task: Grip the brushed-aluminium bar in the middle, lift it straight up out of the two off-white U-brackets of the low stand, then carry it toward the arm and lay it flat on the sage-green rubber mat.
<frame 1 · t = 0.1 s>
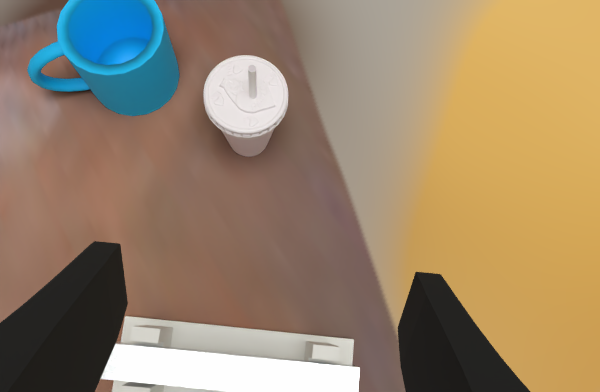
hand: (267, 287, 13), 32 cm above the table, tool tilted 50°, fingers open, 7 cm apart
mug: (115, 81, 48), on the table
rail: (234, 370, 38), point 4 cm above the table, touching rack
smoothie: (248, 138, 47), on the table
rack: (236, 364, 42), on the table
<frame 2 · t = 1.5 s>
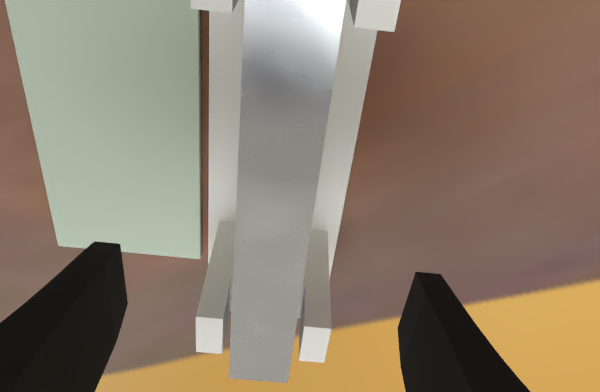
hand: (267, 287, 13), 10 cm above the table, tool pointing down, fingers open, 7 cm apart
mat: (114, 89, 21), on the table
rail: (279, 164, 17), point 4 cm above the table, touching rack
rack: (285, 108, 21), on the table
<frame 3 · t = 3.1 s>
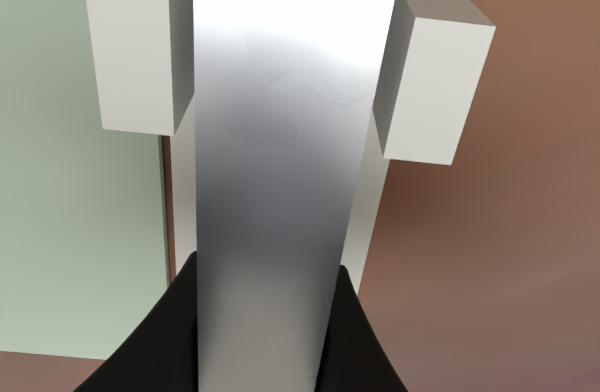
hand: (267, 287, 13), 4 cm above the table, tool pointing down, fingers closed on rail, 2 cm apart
mat: (49, 171, 16), on the table
rail: (265, 301, 12), point 4 cm above the table, touching gripper, rack
rack: (276, 194, 16), on the table
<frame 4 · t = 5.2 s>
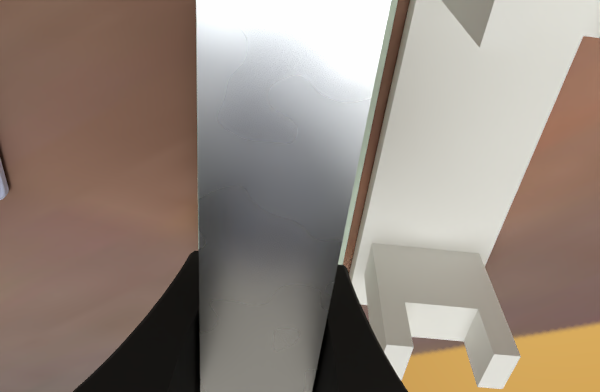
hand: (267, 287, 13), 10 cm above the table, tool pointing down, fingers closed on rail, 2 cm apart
mat: (285, 113, 21), on the table
rail: (265, 296, 12), point 10 cm above the table, touching gripper
rack: (454, 131, 21), on the table
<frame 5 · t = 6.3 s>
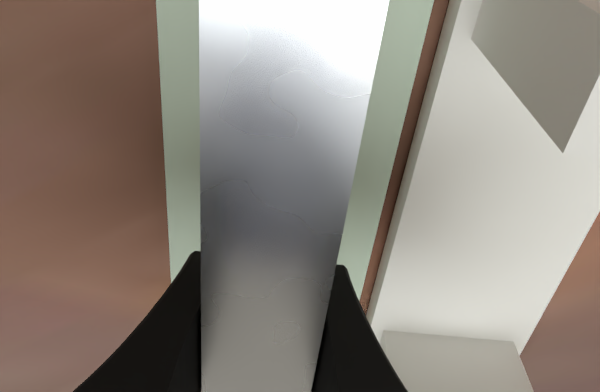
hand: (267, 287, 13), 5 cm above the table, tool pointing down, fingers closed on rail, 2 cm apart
mat: (276, 181, 16), on the table
rail: (266, 292, 13), point 5 cm above the table, touching gripper
rack: (487, 202, 17), on the table
when the fingers open (1 cm above the table, at t = 7.4 s): rail stays where it is, resting on mat.
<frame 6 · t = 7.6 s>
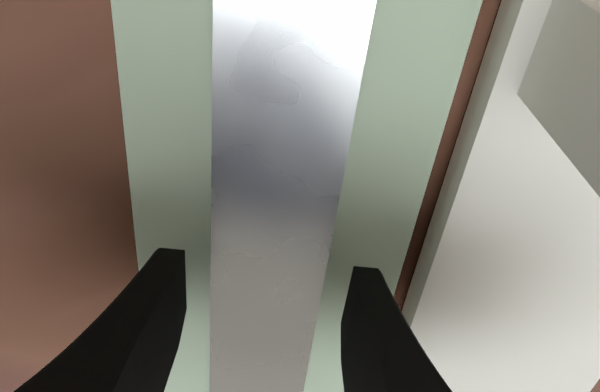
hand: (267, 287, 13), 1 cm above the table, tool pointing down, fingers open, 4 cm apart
mat: (270, 250, 14), on the table
rail: (269, 261, 13), resting on mat
rack: (523, 274, 14), on the table
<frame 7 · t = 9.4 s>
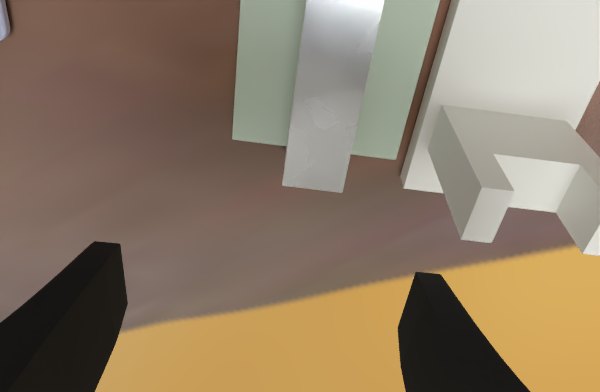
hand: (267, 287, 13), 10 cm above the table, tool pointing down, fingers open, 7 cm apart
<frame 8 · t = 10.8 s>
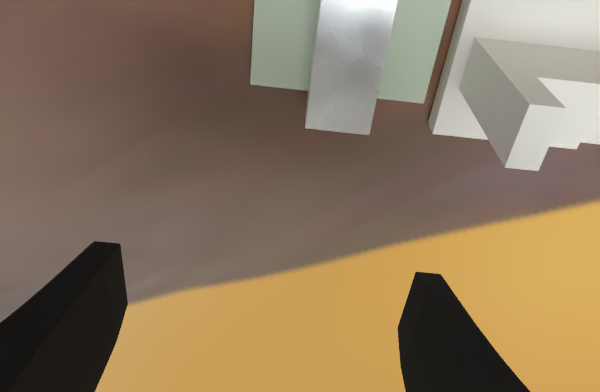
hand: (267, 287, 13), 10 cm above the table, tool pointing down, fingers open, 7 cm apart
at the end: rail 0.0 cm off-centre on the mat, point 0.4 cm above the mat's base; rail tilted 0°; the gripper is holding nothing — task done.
